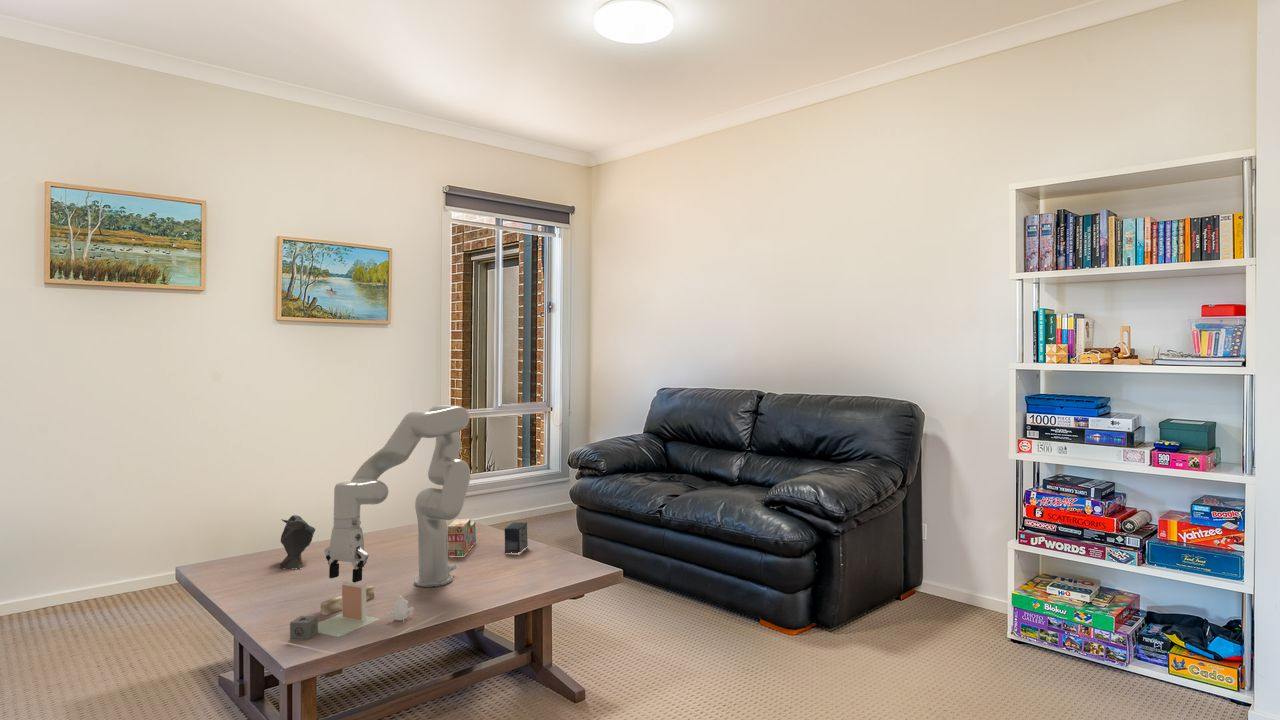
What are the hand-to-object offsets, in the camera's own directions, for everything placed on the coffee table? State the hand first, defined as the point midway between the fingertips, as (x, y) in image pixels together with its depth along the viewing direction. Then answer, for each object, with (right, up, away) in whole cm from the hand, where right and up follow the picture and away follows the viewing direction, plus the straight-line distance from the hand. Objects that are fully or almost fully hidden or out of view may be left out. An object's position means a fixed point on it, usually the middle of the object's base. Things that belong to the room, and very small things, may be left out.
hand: (345, 579), depth 221 cm
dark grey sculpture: (-39, -9, +50) cm, 64 cm away
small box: (+41, -9, +63) cm, 76 cm away
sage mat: (+5, -8, -15) cm, 18 cm away
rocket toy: (+21, -9, -12) cm, 26 cm away
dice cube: (-1, -9, -24) cm, 26 cm away
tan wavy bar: (+1, -9, +1) cm, 9 cm away
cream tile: (+7, -8, -11) cm, 16 cm away
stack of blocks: (+19, -9, +66) cm, 70 cm away
